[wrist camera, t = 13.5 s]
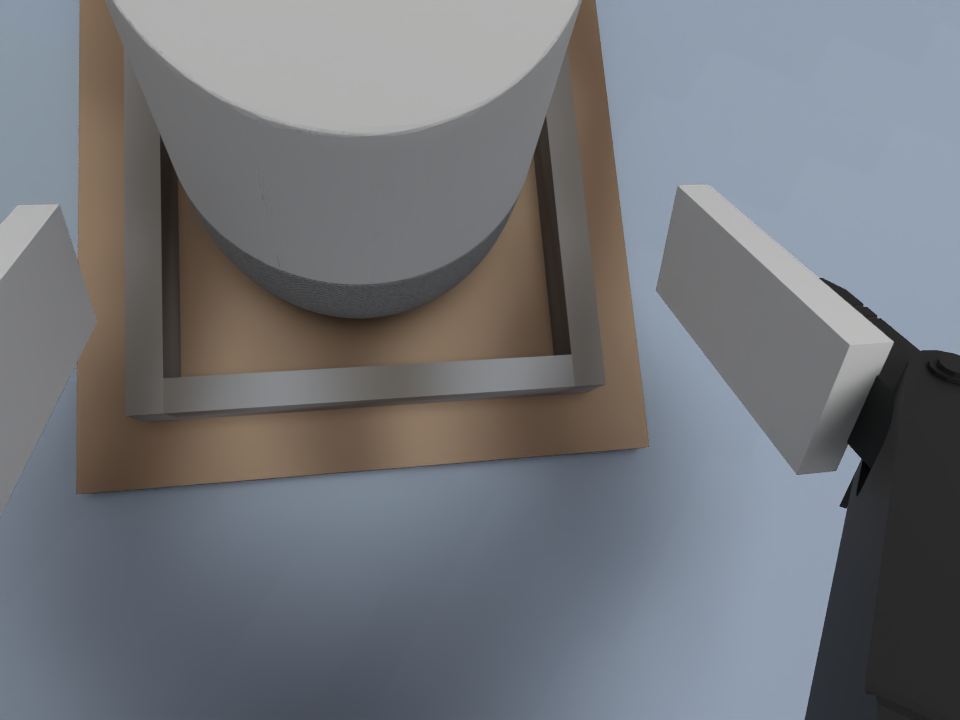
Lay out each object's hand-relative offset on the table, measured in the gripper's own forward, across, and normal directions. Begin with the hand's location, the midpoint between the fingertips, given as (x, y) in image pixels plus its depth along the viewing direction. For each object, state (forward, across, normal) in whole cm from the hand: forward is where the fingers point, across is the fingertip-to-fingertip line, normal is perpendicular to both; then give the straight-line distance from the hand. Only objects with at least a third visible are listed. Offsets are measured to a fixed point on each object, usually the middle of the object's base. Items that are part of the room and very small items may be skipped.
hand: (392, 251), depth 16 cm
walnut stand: (+9, 0, -3) cm, 10 cm away
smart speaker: (+9, -1, -2) cm, 9 cm away
